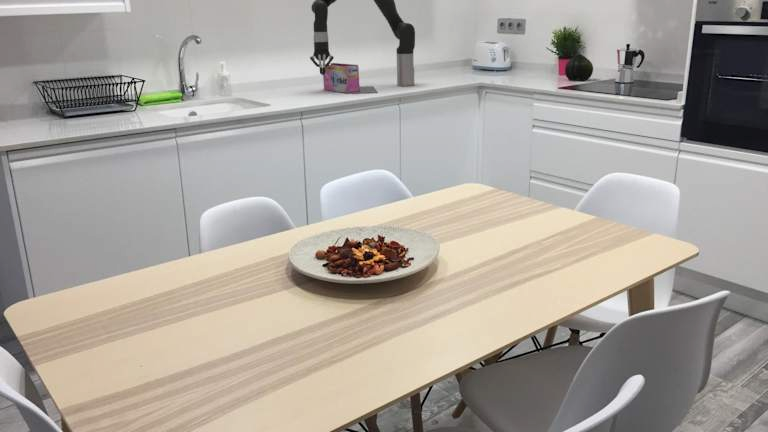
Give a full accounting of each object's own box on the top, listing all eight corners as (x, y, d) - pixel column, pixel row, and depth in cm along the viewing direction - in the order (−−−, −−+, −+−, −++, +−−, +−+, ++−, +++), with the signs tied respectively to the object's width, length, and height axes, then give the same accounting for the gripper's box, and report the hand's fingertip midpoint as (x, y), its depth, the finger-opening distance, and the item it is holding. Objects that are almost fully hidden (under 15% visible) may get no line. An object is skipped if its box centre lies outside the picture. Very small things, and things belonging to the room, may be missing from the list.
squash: (579, 72, 367) (591, 50, 370) (556, 72, 378) (567, 50, 381) (590, 88, 376) (601, 66, 380) (567, 87, 387) (577, 65, 390)
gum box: (322, 89, 369) (320, 64, 365) (333, 87, 374) (332, 62, 370) (348, 93, 352) (346, 66, 347) (360, 91, 356) (358, 64, 352)
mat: (373, 86, 376) (373, 86, 376) (377, 92, 352) (377, 92, 352) (349, 87, 375) (349, 86, 375) (352, 93, 351) (352, 93, 351)
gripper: (333, 40, 358) (335, 73, 363) (308, 40, 356) (310, 74, 362) (334, 40, 351) (335, 75, 356) (308, 41, 349) (310, 76, 355)
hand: (322, 74), depth 359 cm, fingers closed
